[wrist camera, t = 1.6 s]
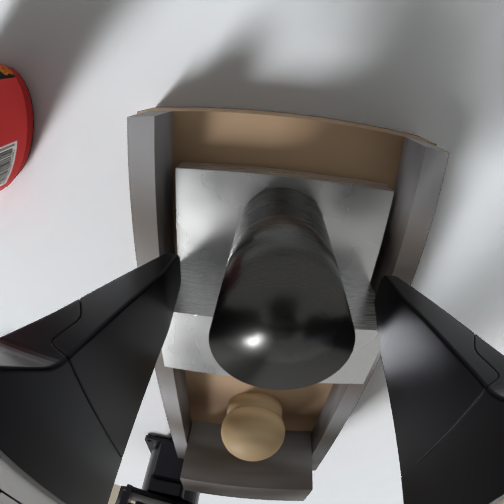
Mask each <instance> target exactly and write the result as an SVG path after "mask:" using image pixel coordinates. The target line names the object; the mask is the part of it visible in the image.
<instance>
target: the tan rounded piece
mask: <svg viewBox="0 0 504 504" xmlns="http://www.w3.org/2000/svg"><path fill="white" fill-rule="evenodd" d="M221 437H222V441H223V443H224V445H225V447H226V448H227V450H228V451H229V452H230V453H231V454H233V455H234V456H236V457H237V458H239V459H242V460H246V461H260V460H264V459H267V458H269V457H270V456H272V455H273V454H275V453H276V452H277V451H278V450H279V448H280V447H281V445H282V443H283V441H284V437H285V426H284V423H283V420H282V404H281V402H280V401H279V400H278V399H277V398H275V397H273V396H271V395H269V394H265V393H260V392H245V393H240V394H237V395H235V396H233V397H232V398H231V399H230V400H229V402H228V409H227V415H226V417H225V418H224V420H223V423H222V427H221Z"/></svg>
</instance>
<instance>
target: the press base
mask: <svg viewBox="0 0 504 504" xmlns="http://www.w3.org/2000/svg"><path fill="white" fill-rule="evenodd" d="M127 138H128V167H129V185H130V200H131V212H132V223H133V233H134V243H135V252H136V260H137V268H138V267H140V266H142V265H144V264H146V263H147V262H149V261H151V260H153V259H155V258H157V257H159V256H161V255H163V254H165V253H169V254H177V255H178V252H177V228H176V185H175V168H176V167H177V166H179V165H180V164H181V163H182V162H196V163H213V164H228V165H241V166H253V167H264V168H275V169H284V170H294V171H302V172H311V173H319V174H327V175H334V176H341V177H348V178H355V179H361V180H368V181H374V182H380V183H386V184H387V185H388V186H389V187H390V188H391V189H392V190H393V191H394V195H393V199H392V203H391V208H390V212H389V216H388V220H387V224H386V228H385V231H384V235H383V239H382V243H381V246H380V250H379V254H378V257H377V260H376V264H375V267H374V271H373V274H372V277H371V281H370V284H371V286H372V289H373V291H374V294H375V296H376V293H377V290H378V287H379V284H380V281H381V278H382V277H383V276H384V275H394V276H397V277H399V278H400V279H401V280H403V281H404V282H406V283H407V284H408V285H410V286H411V283H412V280H413V278H414V275H415V272H416V269H417V267H418V264H419V261H420V258H421V255H422V252H423V249H424V246H425V243H426V240H427V236H428V233H429V230H430V227H431V223H432V220H433V216H434V213H435V209H436V206H437V202H438V198H439V194H440V190H441V187H442V182H443V178H444V174H445V170H446V165H447V161H448V156H449V153H448V152H446V151H444V150H442V149H440V148H438V147H436V144H434V143H432V142H430V141H428V140H425V139H423V138H421V137H419V136H415V135H411V134H407V133H403V132H398V131H394V130H389V129H385V128H380V127H375V126H370V125H364V124H359V123H353V122H348V121H342V120H335V119H329V118H322V117H315V116H307V115H299V114H290V113H281V112H271V111H259V110H246V109H229V108H202V107H155V108H150V109H146V110H142V111H138V112H137V114H136V115H133V116H129V117H127ZM380 356H381V353H380V350H379V352H378V354H377V356H376V359H375V361H374V363H373V365H372V367H371V369H370V371H369V373H368V375H367V377H366V379H365V381H364V383H363V384H335V383H317V384H314V385H311V386H308V387H303V388H299V389H291V390H271V389H264V388H259V387H255V386H252V385H249V384H246V383H244V382H241V381H240V380H238V379H236V378H234V377H233V376H226V375H218V374H210V373H203V372H196V371H190V370H183V369H177V368H171V367H165V366H164V360H163V354H162V349H161V352H160V354H159V357H158V360H157V362H156V365H155V371H156V376H157V380H158V384H159V389H160V393H161V397H162V401H163V405H164V409H165V413H166V417H167V421H168V424H169V428H170V432H171V435H172V439H173V442H174V446H175V449H176V452H177V456H178V458H183V459H184V461H183V466H182V471H181V475H180V479H181V482H182V485H183V487H184V490H188V491H193V492H199V493H205V494H212V495H220V496H228V497H237V498H248V499H261V500H284V501H304V499H305V498H306V497H307V496H308V495H309V493H310V492H311V491H312V470H316V469H317V467H318V466H319V464H320V463H321V461H322V460H323V458H324V457H325V455H326V454H327V452H328V451H329V449H330V447H331V446H332V444H333V443H334V441H335V439H336V438H337V436H338V434H339V433H340V431H341V429H342V428H343V426H344V424H345V423H346V421H347V419H348V417H349V416H350V414H351V412H352V410H353V409H354V407H355V405H356V403H357V401H358V400H359V398H360V396H361V394H362V392H363V390H364V388H365V386H366V385H367V383H368V381H369V379H370V377H371V375H372V373H373V371H374V369H375V367H376V365H377V363H378V361H379V358H380ZM245 392H260V393H265V394H269V395H271V396H273V397H275V398H277V399H278V400H279V401H280V402H281V404H282V420H283V423H284V426H285V437H284V441H283V443H282V445H281V447H280V448H279V450H278V451H277V452H276V453H275V454H273V455H272V456H270V457H269V458H267V459H264V460H260V461H246V460H242V459H239V458H237V457H236V456H234V455H233V454H231V453H230V452H229V451H228V450H227V448H226V447H225V445H224V443H223V441H222V437H221V427H222V423H223V420H224V418H225V417H226V415H227V409H228V402H229V400H230V399H231V398H232V397H233V396H235V395H237V394H240V393H245Z"/></svg>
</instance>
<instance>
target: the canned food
mask: <svg viewBox="0 0 504 504" xmlns="http://www.w3.org/2000/svg"><path fill="white" fill-rule="evenodd" d="M32 136H33V110H32V102H31V99H30V95H29V91H28V89H27V87H26V84H25V82H24V80H23V79H22V77H21V76H20V75H19V73H17V72H16V71H15V70H14V69H13V68H10V67H7V66H5V65H2V64H0V190H2V189H4V188H5V187H7V186H8V185H9V184H10V183H11V182H12V181H13V180H14V178H15V177H16V176H17V175H18V174H19V172H20V171H21V170H22V168H23V166H24V165H25V163H26V160H27V158H28V155H29V152H30V148H31V143H32Z"/></svg>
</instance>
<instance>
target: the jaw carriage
mask: <svg viewBox="0 0 504 504" xmlns="http://www.w3.org/2000/svg"><path fill="white" fill-rule="evenodd" d="M175 185H176V228H177V252H178V255H179V257H180V267H181V286H180V290H179V294H178V297H177V301H176V305H175V309H174V313H173V317H172V321H171V324H170V328H169V331H168V334H167V336H166V339H165V341H164V344H163V347H162V354H163V360H164V366H165V367H171V368H177V369H183V370H190V371H196V372H203V373H210V374H218V375H226V376H233V377H234V378H236V379H238V380H240V381H241V382H244V383H246V384H249V385H252V386H255V387H259V388H264V389H271V390H291V389H299V388H303V387H308V386H311V385H314V384H317V383H335V384H363V383H364V381H365V379H366V377H367V375H368V373H369V371H370V369H371V367H372V365H373V363H374V361H375V359H376V356H377V354H378V352H379V350H380V348H379V341H378V332H377V324H376V315H375V307H374V299H375V294H374V291H373V289H372V286H371V284H370V281H371V277H372V274H373V271H374V267H375V264H376V260H377V257H378V254H379V250H380V246H381V243H382V239H383V235H384V231H385V228H386V224H387V220H388V216H389V212H390V208H391V203H392V199H393V195H394V191H393V190H392V189H391V188H390V187H389V186H388V185H387V184H386V183H380V182H374V181H368V180H361V179H355V178H348V177H341V176H334V175H327V174H319V173H311V172H302V171H294V170H284V169H275V168H264V167H253V166H241V165H228V164H213V163H196V162H182V163H181V164H180V165H179V166H177V167H176V168H175Z"/></svg>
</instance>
